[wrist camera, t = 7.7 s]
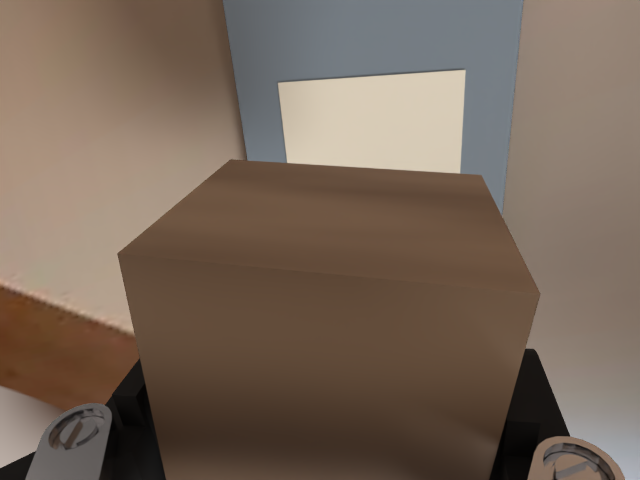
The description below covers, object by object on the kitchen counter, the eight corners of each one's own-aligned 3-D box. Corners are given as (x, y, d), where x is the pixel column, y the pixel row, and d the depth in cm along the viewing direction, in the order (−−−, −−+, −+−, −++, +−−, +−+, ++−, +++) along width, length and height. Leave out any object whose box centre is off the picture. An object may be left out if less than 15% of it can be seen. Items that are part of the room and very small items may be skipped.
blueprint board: (484, 353, 26) (487, 366, 25) (281, 344, 28) (277, 355, 27) (523, -62, 17) (530, -67, 16) (226, -27, 19) (217, -30, 18)
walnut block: (432, 445, 14) (446, 636, 10) (250, 419, 15) (188, 584, 11) (481, 175, 10) (540, 293, 6) (230, 159, 11) (117, 254, 7)
